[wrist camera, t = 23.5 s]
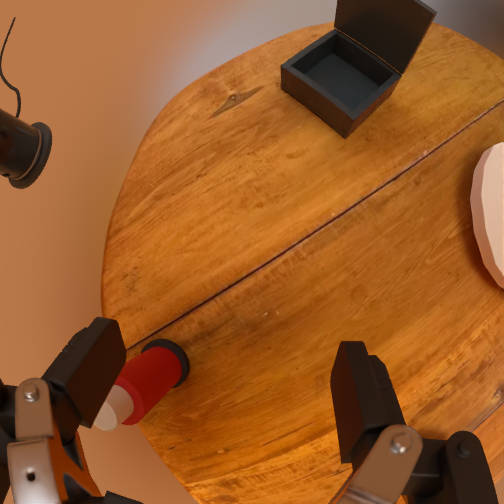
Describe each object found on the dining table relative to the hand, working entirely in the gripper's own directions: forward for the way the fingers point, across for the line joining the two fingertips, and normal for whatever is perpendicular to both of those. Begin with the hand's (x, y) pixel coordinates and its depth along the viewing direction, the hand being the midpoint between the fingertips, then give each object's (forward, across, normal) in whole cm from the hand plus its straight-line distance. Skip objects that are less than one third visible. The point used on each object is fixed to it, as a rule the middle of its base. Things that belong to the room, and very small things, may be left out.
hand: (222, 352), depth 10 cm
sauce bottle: (+14, +10, +17) cm, 24 cm away
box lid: (+21, -11, -21) cm, 32 cm away
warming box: (+29, -9, -14) cm, 34 cm away
